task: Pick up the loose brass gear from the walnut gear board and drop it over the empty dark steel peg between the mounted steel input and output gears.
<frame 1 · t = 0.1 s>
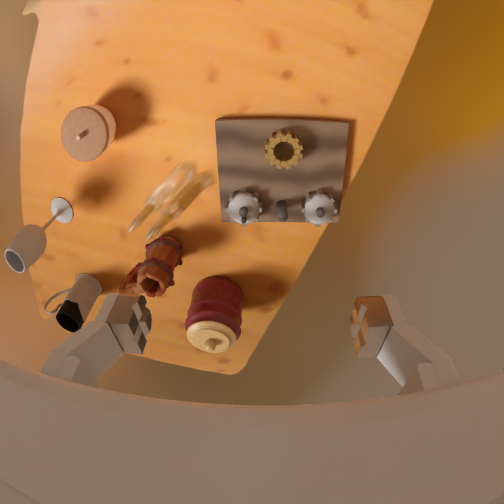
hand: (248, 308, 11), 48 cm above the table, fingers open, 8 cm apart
wineglass: (62, 209, 63), on the table
canister: (218, 294, 77), on the table
lidded jar: (101, 124, 52), on the table
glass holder: (81, 282, 78), on the table
brass gear: (282, 146, 52), point 2 cm above the table, touching gear board
mug: (159, 249, 69), on the table
gear board: (281, 170, 57), on the table
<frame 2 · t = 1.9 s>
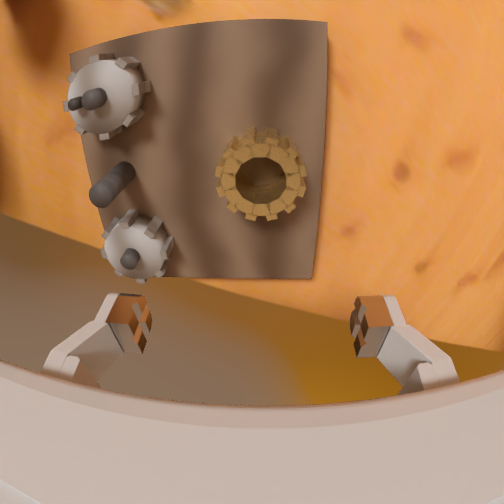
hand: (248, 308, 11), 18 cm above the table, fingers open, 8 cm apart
brass gear: (261, 165, 24), point 2 cm above the table, touching gear board
gear board: (199, 159, 26), on the table
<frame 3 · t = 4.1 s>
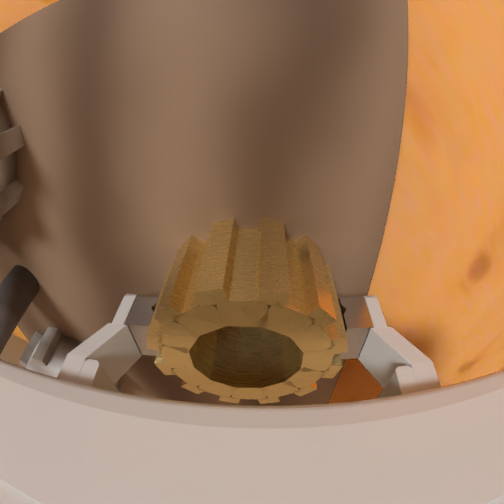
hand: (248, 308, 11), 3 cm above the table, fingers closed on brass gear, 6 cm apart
brass gear: (250, 289, 12), point 2 cm above the table, touching gear board, gripper
gear board: (137, 258, 14), on the table
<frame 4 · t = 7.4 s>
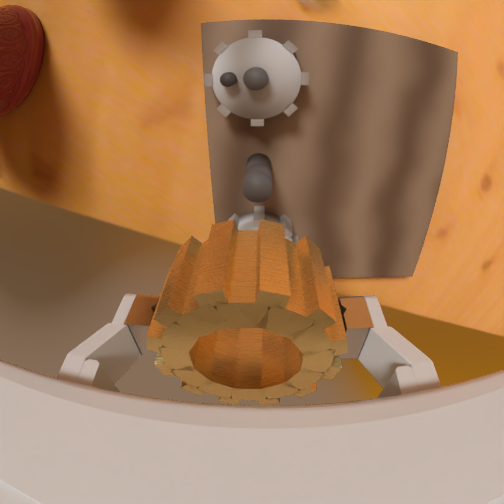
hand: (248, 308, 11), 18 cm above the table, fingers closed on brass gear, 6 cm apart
canister: (7, 59, 18), on the table
brass gear: (250, 290, 12), point 17 cm above the table, touching gripper
gear board: (332, 158, 25), on the table
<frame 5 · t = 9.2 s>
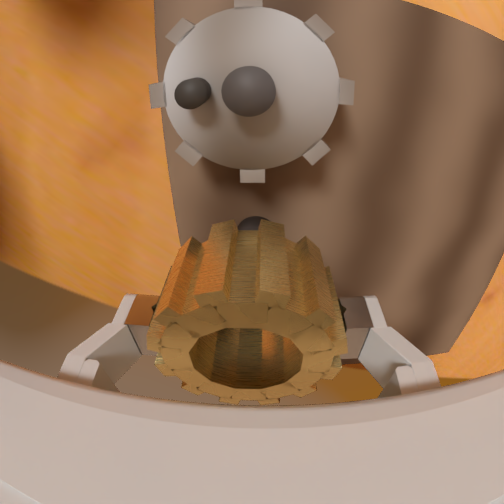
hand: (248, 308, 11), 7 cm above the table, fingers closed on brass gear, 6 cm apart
brass gear: (250, 290, 12), point 6 cm above the table, touching gripper
gear board: (369, 216, 17), on the table
when the fingers open (5 cm above the table, at t = 10.9 s): brass gear drops 1 cm, resting on gear board.
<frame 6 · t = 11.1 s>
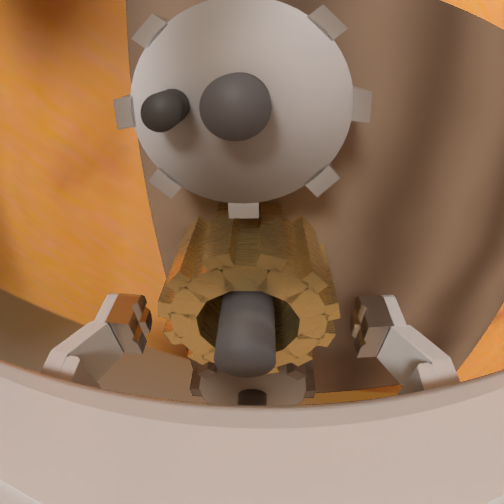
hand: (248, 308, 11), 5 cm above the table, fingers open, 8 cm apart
brass gear: (251, 266, 13), point 2 cm above the table, touching gear board
gear board: (377, 241, 15), on the table
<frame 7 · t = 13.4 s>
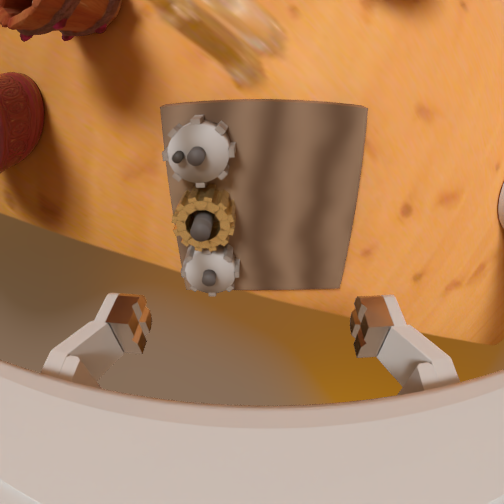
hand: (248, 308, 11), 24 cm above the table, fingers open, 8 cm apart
canister: (14, 116, 27), on the table
brass gear: (207, 210, 34), point 2 cm above the table, touching gear board
gear board: (264, 201, 35), on the table
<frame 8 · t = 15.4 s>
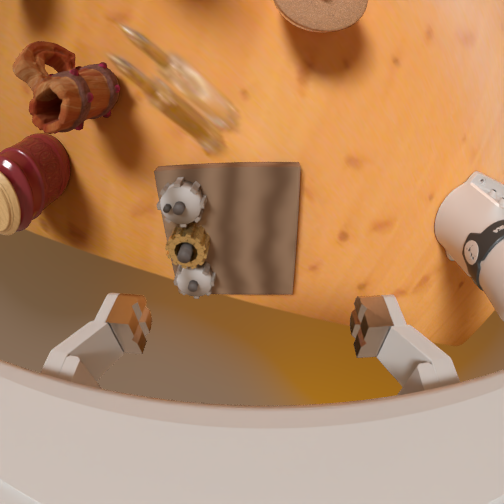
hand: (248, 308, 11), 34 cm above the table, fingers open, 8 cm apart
canister: (45, 164, 42), on the table
lidded jar: (310, 2, 28), on the table
brass gear: (190, 239, 48), point 2 cm above the table, touching gear board
mug: (96, 76, 34), on the table
gear board: (231, 232, 50), on the table
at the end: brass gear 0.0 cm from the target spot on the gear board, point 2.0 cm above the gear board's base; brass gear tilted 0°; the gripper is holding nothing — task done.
